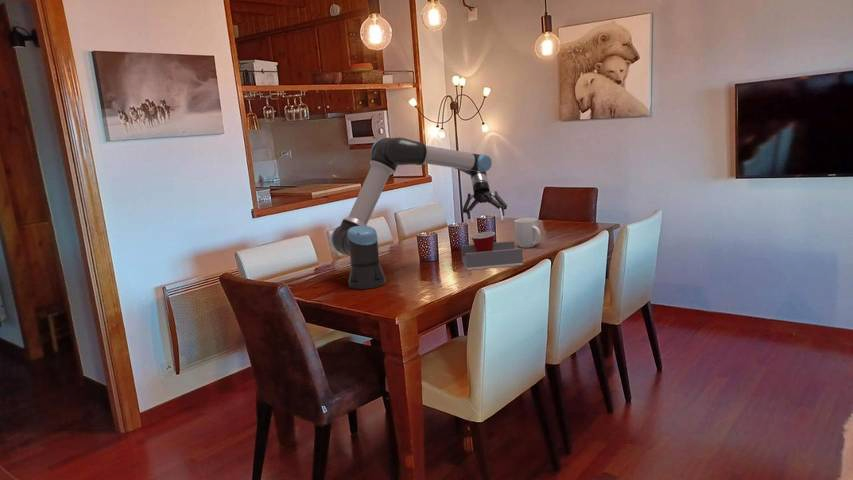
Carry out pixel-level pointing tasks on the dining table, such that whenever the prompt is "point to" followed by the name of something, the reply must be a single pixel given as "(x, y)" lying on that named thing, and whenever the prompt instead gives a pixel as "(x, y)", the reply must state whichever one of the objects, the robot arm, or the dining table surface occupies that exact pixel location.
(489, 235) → the plastic cup
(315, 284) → the dining table surface
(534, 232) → the mug
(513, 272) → the dining table surface
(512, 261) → the dock
